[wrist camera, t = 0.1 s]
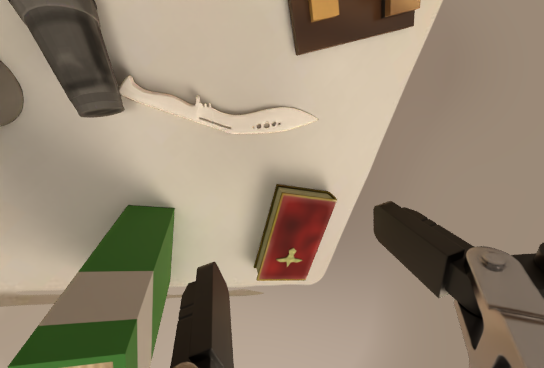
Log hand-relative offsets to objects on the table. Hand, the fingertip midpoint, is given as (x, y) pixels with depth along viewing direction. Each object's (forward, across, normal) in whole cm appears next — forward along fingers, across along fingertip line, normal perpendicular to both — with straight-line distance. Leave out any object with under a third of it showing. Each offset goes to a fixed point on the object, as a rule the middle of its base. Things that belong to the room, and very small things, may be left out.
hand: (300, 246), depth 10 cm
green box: (+29, +22, +16) cm, 40 cm away
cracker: (+28, -16, -15) cm, 36 cm away
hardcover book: (+29, -4, +24) cm, 38 cm away
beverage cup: (+23, +15, -8) cm, 29 cm away
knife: (+30, 0, -4) cm, 30 cm away
